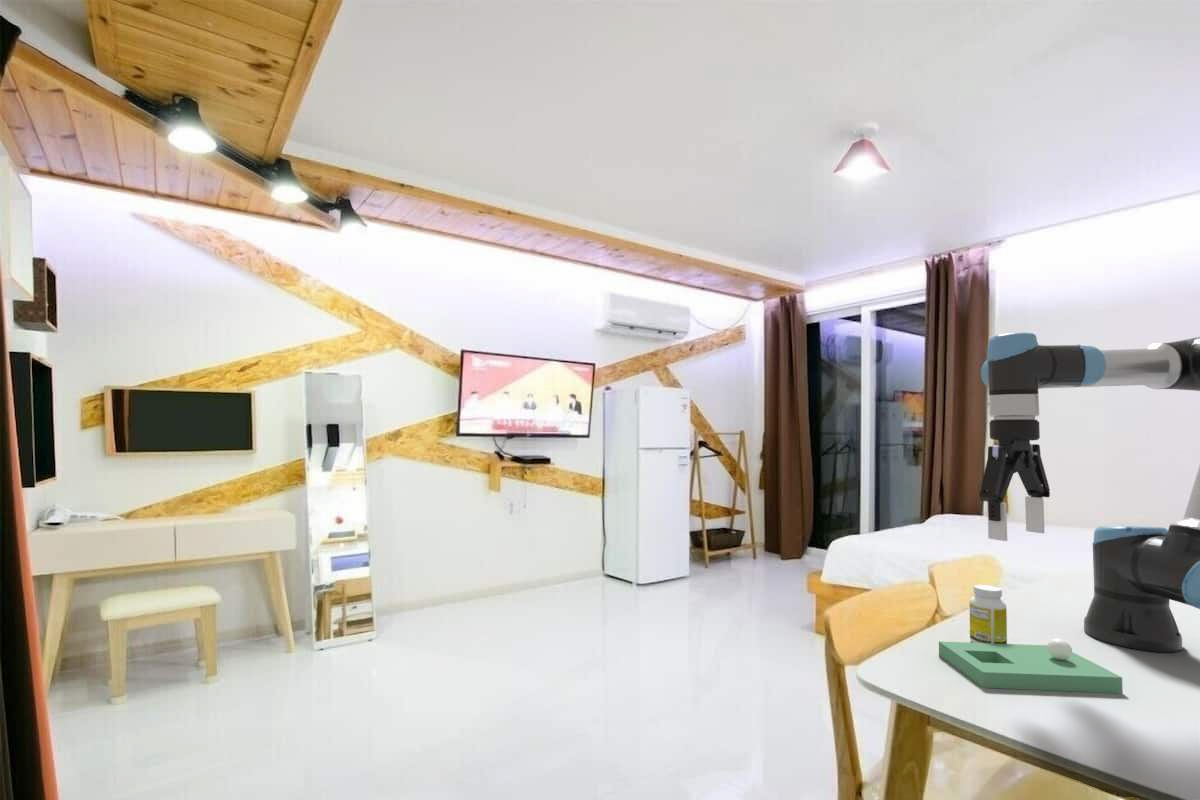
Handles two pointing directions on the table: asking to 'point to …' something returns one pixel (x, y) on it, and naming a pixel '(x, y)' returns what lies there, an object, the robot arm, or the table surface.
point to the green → (1027, 668)
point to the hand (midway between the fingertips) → (1017, 536)
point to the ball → (1059, 649)
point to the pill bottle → (988, 616)
